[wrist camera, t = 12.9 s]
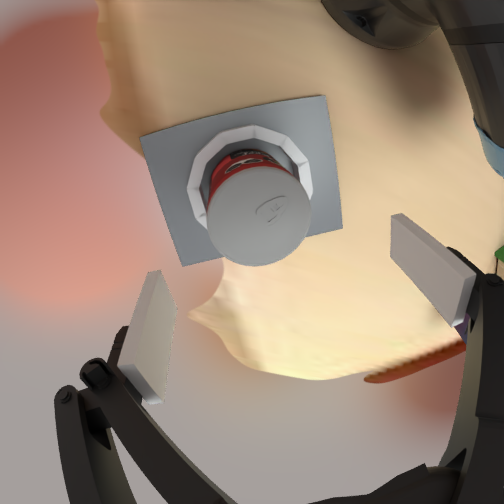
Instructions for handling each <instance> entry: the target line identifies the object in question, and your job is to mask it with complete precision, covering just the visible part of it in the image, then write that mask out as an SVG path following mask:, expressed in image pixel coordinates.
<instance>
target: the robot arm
mask: <svg viewBox="0 0 504 504" xmlns="http://www.w3.org/2000/svg"><path fill="white" fill-rule="evenodd" d="M322 2H323V4H324V6H325V8H326V9H327V11H328V12H329V13H330V15H331V16H332V17H333V18H334V19H335V21H336V22H337V23H338V24H339V25H340V26H341V27H343V28H344V29H345V30H346V31H348V32H349V33H350V34H352V35H353V36H355V37H356V38H358V39H360V40H361V41H363V42H365V43H368V44H370V45H373V46H376V47H379V48H384V49H401V48H406V47H410V46H414V45H416V44H418V43H420V42H422V41H423V40H424V39H425V38H426V37H428V36H429V35H430V34H431V33H432V32H433V31H435V30H436V29H437V28H438V27H439V26H440V27H441V29H442V31H443V33H444V35H445V37H446V39H447V41H448V44H449V46H450V48H451V51H452V53H453V55H454V58H455V60H456V62H457V65H458V67H459V70H460V73H461V75H462V78H463V81H464V83H465V86H466V89H467V92H468V95H469V99H470V102H471V105H472V109H473V113H474V118H473V120H474V124H475V127H476V129H477V130H478V132H479V135H480V139H481V142H482V146H483V150H484V154H485V156H486V159H487V161H488V162H489V164H490V165H491V167H492V168H493V169H494V170H495V171H496V172H497V173H498V174H499V175H500V176H502V177H503V178H504V0H322ZM390 257H391V258H392V259H393V260H394V262H395V263H396V264H397V265H398V266H399V267H400V268H401V269H402V270H403V271H404V272H405V274H406V275H407V276H408V277H409V278H410V279H411V280H412V281H413V282H414V284H415V285H416V286H417V287H418V288H419V289H420V290H421V292H422V293H423V294H424V295H425V296H426V297H427V299H428V300H429V301H430V302H431V303H432V305H433V306H434V307H435V308H436V309H437V311H438V312H439V313H440V314H441V315H442V317H443V318H444V319H445V320H446V322H447V323H448V324H449V325H450V327H451V328H452V327H454V326H456V325H458V324H460V323H462V322H463V320H464V317H465V314H466V313H467V314H468V315H469V316H470V319H469V322H468V325H467V327H466V330H465V333H464V334H467V331H468V335H467V347H466V357H465V365H464V373H463V380H462V385H461V391H460V397H459V402H458V407H457V411H456V416H455V420H454V424H453V429H452V433H451V436H450V440H449V444H448V447H447V449H446V451H445V453H444V455H443V457H442V459H441V461H440V463H439V465H438V466H434V467H426V465H425V463H424V464H422V465H420V466H418V467H416V468H414V469H411V470H409V471H407V472H405V473H402V474H400V475H398V476H396V477H395V478H393V479H392V480H390V481H389V482H387V483H386V484H384V485H383V486H381V487H380V488H378V489H377V490H375V491H373V492H372V493H370V494H367V495H359V496H349V497H335V498H330V499H326V500H322V501H318V502H313V503H309V504H504V280H503V279H502V278H501V277H500V276H498V275H496V274H489V273H488V274H484V273H483V272H482V271H481V270H479V269H478V268H477V267H476V266H475V265H474V264H473V263H471V262H470V261H468V259H467V258H466V257H464V256H463V255H462V254H461V253H460V252H458V251H457V250H455V249H453V248H451V247H445V246H444V245H442V244H441V243H440V242H439V241H437V240H436V239H435V238H434V237H432V236H431V235H430V234H429V233H427V232H426V231H425V230H424V229H422V228H421V227H420V226H418V225H417V224H416V223H414V222H413V221H412V220H410V219H409V218H408V217H406V216H405V215H404V214H402V213H400V214H396V215H391V249H390ZM176 314H177V306H176V304H175V302H174V300H173V297H172V295H171V293H170V291H169V289H168V286H167V284H166V282H165V279H164V277H163V275H162V273H161V270H157V271H153V272H148V274H147V276H146V279H145V282H144V284H143V287H142V290H141V293H140V296H139V298H138V301H137V304H136V307H135V310H134V313H133V316H132V319H131V322H130V325H129V326H123V327H122V328H121V329H120V330H119V332H118V333H117V334H116V337H115V340H114V344H113V346H112V350H111V352H110V355H109V358H108V361H107V363H106V362H105V361H104V360H103V359H102V358H94V359H91V360H89V361H88V362H87V363H85V364H84V366H83V367H82V368H81V371H80V379H81V380H82V381H83V382H84V383H85V385H86V386H88V388H86V389H83V390H80V391H78V390H76V388H75V387H73V386H71V385H67V386H64V387H62V388H61V389H60V390H59V391H58V392H57V393H56V395H55V399H54V407H55V419H56V429H57V438H58V446H59V452H60V459H61V464H62V470H63V474H64V480H65V484H66V489H67V493H68V497H69V501H70V504H137V503H136V501H135V498H134V496H133V494H132V491H131V489H130V486H129V484H128V481H127V478H126V476H125V473H124V470H123V467H122V465H121V462H120V459H119V456H118V453H117V449H116V446H115V443H114V440H113V436H112V433H111V429H110V428H111V427H112V428H113V430H114V431H115V433H116V434H117V436H118V438H119V439H120V441H121V442H122V444H123V445H124V447H125V448H126V450H127V451H128V453H129V454H130V455H131V457H132V458H133V460H134V461H135V462H136V464H137V465H138V467H139V468H140V469H141V471H143V473H144V474H145V476H146V477H147V478H148V480H149V481H150V482H151V484H152V485H153V486H154V487H155V488H156V490H157V491H158V492H159V493H160V494H161V496H162V497H163V498H164V499H165V500H166V502H167V503H168V504H237V503H236V502H235V501H234V500H233V499H232V498H230V497H229V496H228V495H227V494H225V492H223V491H222V490H221V489H220V488H219V487H218V486H216V484H214V483H213V482H212V481H211V480H210V479H209V478H208V477H207V476H206V475H205V474H204V473H202V471H201V470H199V469H198V467H196V466H195V465H194V464H193V463H192V461H190V460H189V459H188V457H186V455H185V454H184V453H183V452H182V451H181V450H180V449H179V448H178V447H177V446H176V445H175V444H174V443H173V441H172V440H171V439H170V438H169V437H168V436H167V435H166V434H165V433H164V431H163V430H162V429H161V428H160V427H159V426H158V424H157V423H156V422H155V421H154V420H153V418H152V417H151V416H150V415H149V414H148V412H147V411H146V410H145V409H144V407H143V406H142V405H141V403H142V397H143V399H144V400H145V401H146V402H147V403H148V404H160V403H164V398H165V391H166V383H167V375H168V367H169V359H170V352H171V345H172V339H173V333H174V326H175V320H176Z"/></svg>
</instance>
